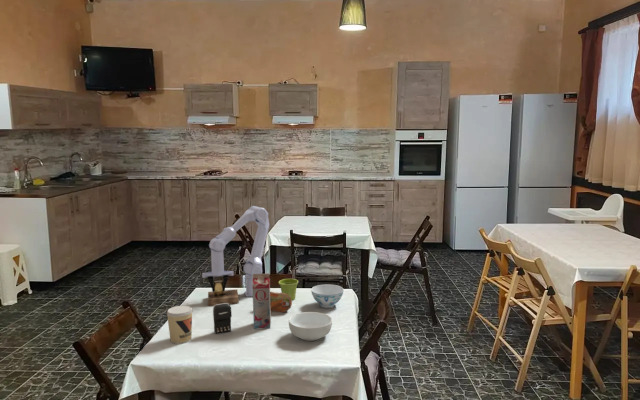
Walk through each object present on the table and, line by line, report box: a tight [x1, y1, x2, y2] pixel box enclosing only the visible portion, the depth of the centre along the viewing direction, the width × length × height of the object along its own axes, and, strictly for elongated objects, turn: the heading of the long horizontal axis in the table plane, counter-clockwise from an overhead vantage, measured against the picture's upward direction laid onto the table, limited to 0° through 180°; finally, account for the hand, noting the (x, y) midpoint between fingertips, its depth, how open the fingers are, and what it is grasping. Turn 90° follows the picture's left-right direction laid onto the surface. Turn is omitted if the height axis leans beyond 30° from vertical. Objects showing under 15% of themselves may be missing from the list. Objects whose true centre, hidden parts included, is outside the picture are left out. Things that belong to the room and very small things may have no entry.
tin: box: [270, 291, 293, 313], centre depth 207 cm, size 15×3×8 cm, turn 68°
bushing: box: [213, 280, 224, 297], centre depth 220 cm, size 4×4×7 cm
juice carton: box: [252, 273, 272, 330], centre depth 189 cm, size 7×7×22 cm
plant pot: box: [278, 278, 299, 301], centre depth 222 cm, size 9×9×9 cm
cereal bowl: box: [288, 311, 333, 342], centre depth 178 cm, size 17×17×7 cm
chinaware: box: [310, 283, 345, 309], centre depth 213 cm, size 15×15×8 cm
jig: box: [207, 289, 240, 307], centre depth 221 cm, size 14×12×3 cm
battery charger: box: [212, 303, 233, 335], centre depth 183 cm, size 7×4×11 cm, turn 115°
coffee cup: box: [166, 305, 193, 345], centre depth 176 cm, size 9×9×12 cm
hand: (218, 291), depth 221 cm, fingers closed on bushing, 4 cm apart
